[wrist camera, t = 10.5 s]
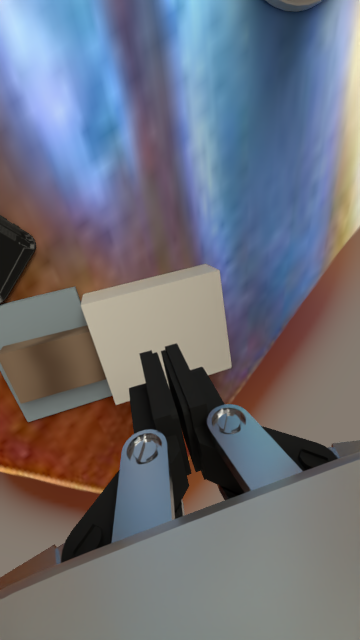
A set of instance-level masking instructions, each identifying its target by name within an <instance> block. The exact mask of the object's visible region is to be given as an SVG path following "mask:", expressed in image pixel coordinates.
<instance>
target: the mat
mask: <svg viewBox="0 0 360 640" xmlns="http://www.w3.org/2000/svg"><path fill="white" fill-rule="evenodd" d="M86 325H87V322H86V319H85V316H84V314H83V311H82V308H81V301H80V299H79V296H78V293H77V290H76V287H71V288H67V289H63V290H59V291H54V292H50V293H46V294H42V295H38V296H34V297H30V298H26V299H21V300H17V301H13V302H9V303H5V304H1V305H0V350H1V349H2V347H3V346H6V345H10V344H14V343H18V342H22V341H26V340H30V339H34V338H38V337H42V336H46V335H50V334H54V333H58V332H62V331H66V330H70V329H74V328H78V327H82V326H86ZM0 371H1V373H2V375H3V377H4V379H5V380H6V382H7V384H8V386H9V388H10V390H11V392H12V393H13V395H14V397H15V399H16V401H17V403H18V405H19V406H20V408H21V410H22V412H23V414H24V416H25V418H26V419H27V421H28V422H30V421H33V420H37V419H40V418H43V417H46V416H49V415H52V414H56V413H59V412H62V411H65V410H68V409H71V408H74V407H78V406H81V405H84V404H87V403H90V402H93V401H97V400H100V399H103V398H106V397H109V396H112V393H111V390H110V387H109V384H108V381H107V378H106V379H105V380H102V381H98V382H95V383H91V384H88V385H85V386H81V387H78V388H74V389H71V390H67V391H64V392H60V393H57V394H53V395H50V396H46V397H43V398H39V399H36V400H33V401H29V402H26V403H22V404H21V403H20V401H19V399H18V397H17V395H16V393H15V391H14V389H13V387H12V385H11V383H10V381H9V379H8V377H7V375H6V373H5V371H4V369H3V367H2V365H1V363H0Z"/></svg>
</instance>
